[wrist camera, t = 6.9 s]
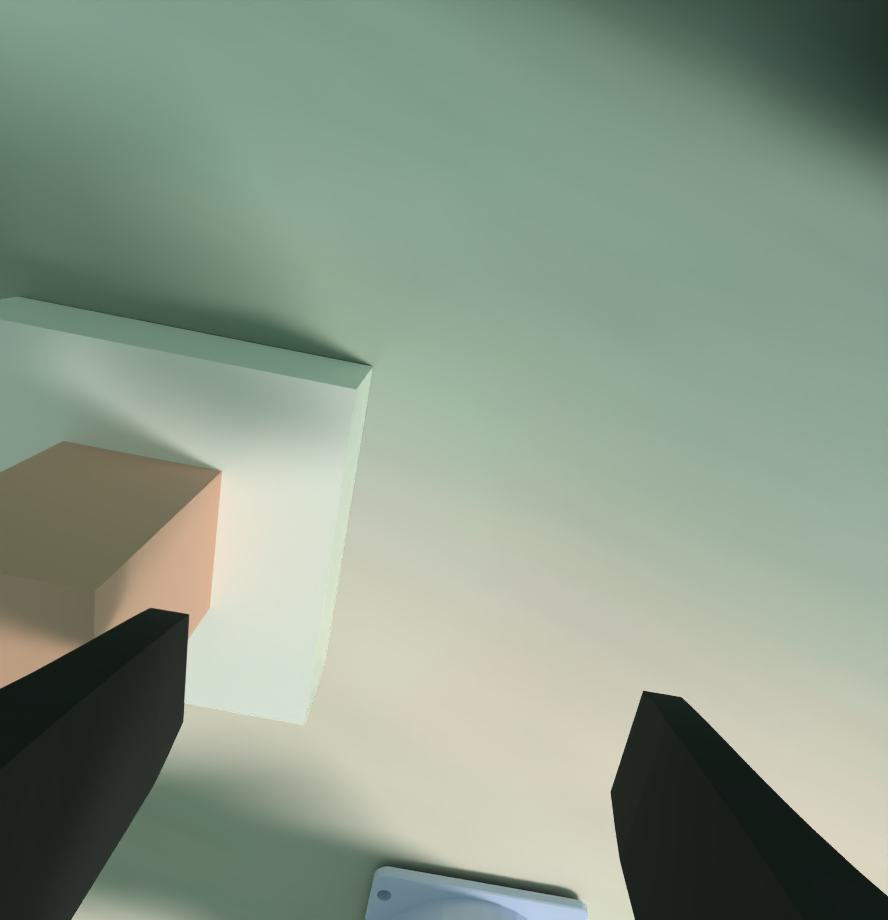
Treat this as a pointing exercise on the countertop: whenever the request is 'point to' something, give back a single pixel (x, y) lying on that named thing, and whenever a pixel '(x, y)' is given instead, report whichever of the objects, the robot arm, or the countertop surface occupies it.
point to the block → (98, 548)
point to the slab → (219, 448)
